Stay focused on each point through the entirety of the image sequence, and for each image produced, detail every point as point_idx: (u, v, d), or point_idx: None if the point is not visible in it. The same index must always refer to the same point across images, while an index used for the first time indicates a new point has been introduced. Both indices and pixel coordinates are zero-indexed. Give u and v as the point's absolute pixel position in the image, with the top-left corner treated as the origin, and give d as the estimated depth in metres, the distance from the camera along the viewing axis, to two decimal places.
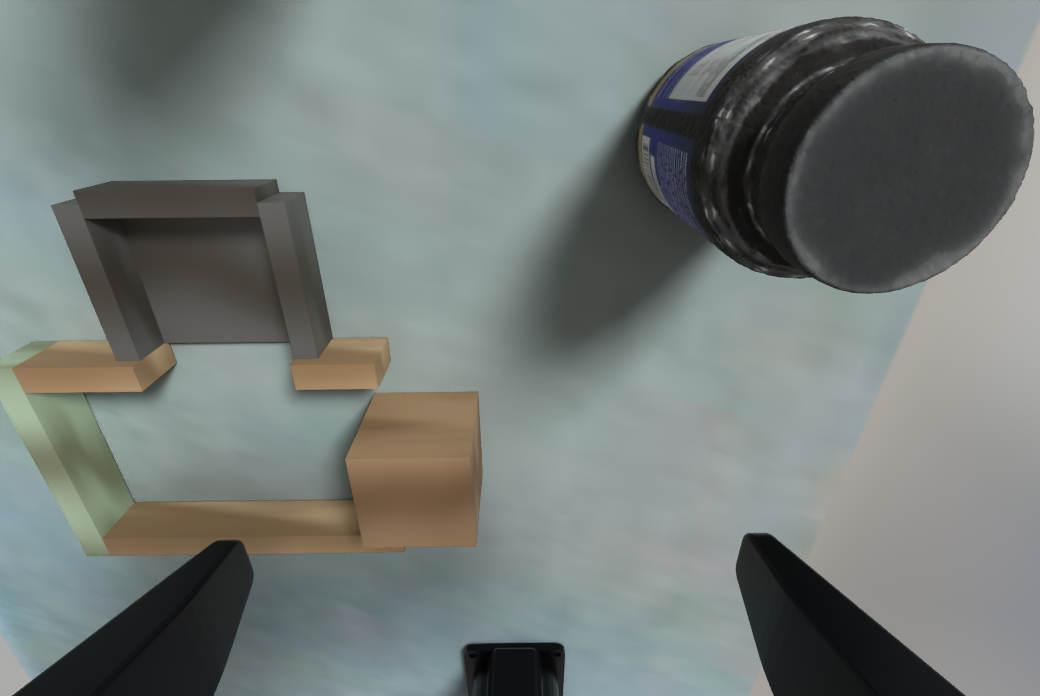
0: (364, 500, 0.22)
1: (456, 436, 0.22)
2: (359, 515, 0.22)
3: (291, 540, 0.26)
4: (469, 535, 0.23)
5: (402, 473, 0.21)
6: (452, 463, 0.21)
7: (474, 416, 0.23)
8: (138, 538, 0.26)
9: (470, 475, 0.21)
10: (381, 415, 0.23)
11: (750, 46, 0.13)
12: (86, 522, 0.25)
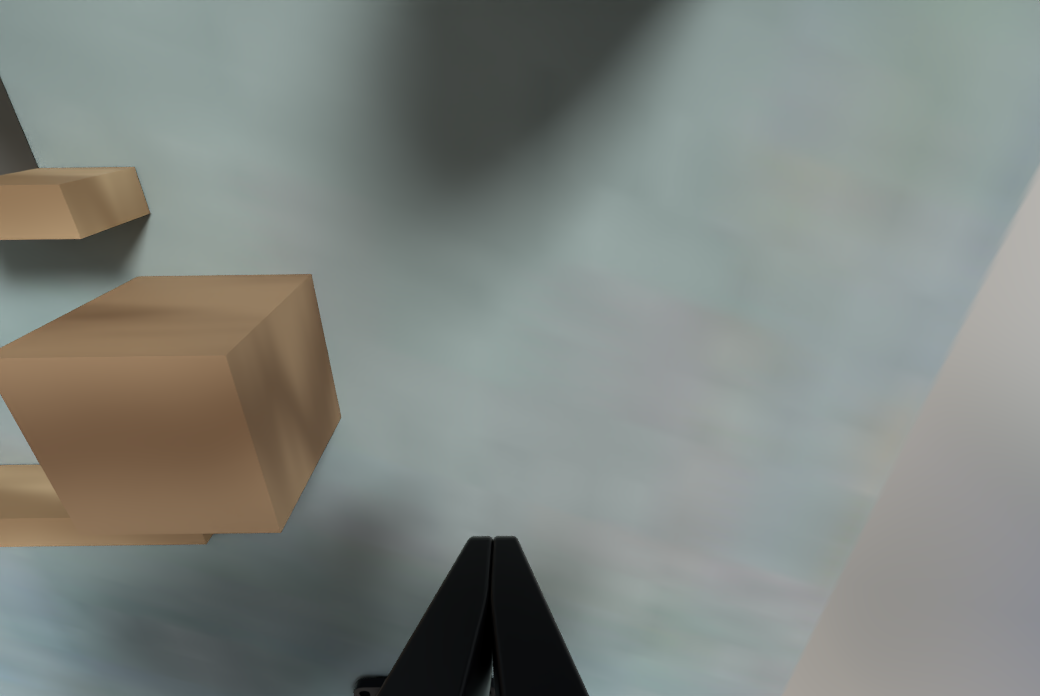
0: (49, 445, 0.12)
1: (226, 326, 0.12)
2: (50, 474, 0.12)
3: (17, 525, 0.16)
4: (264, 512, 0.13)
5: (103, 388, 0.11)
6: (195, 368, 0.11)
7: (282, 302, 0.13)
8: None
9: (237, 393, 0.11)
10: (118, 301, 0.13)
11: None
12: None
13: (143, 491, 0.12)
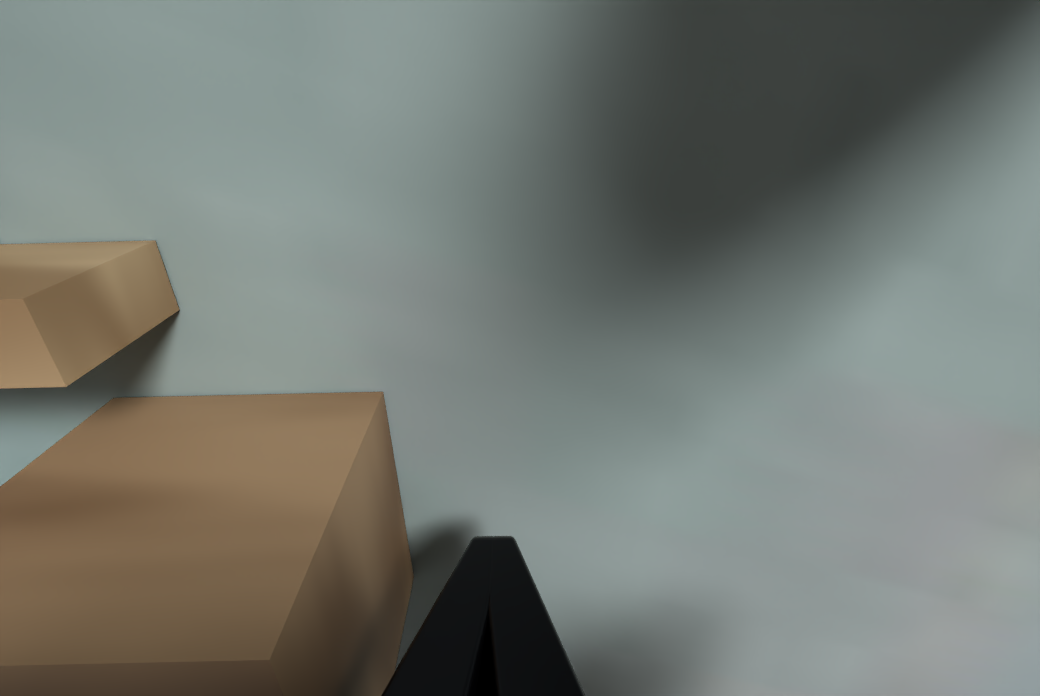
0: None
1: (262, 549, 0.06)
2: None
3: None
4: None
5: None
6: (206, 678, 0.05)
7: (349, 468, 0.08)
8: None
9: None
10: (72, 466, 0.08)
11: None
12: None
13: None
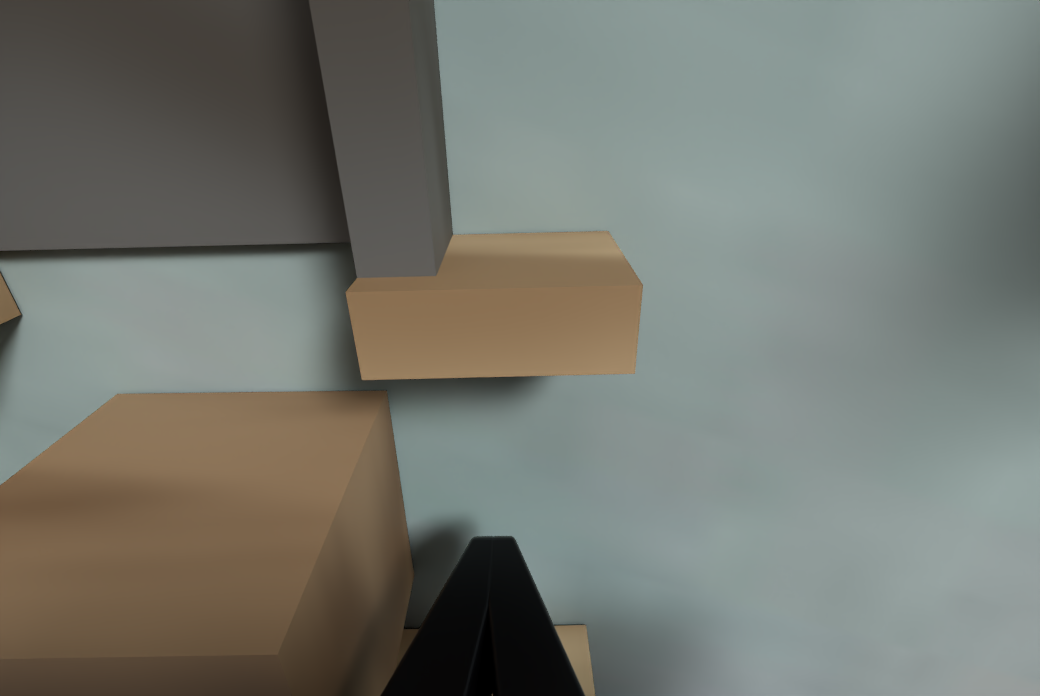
0: None
1: (267, 546, 0.06)
2: None
3: None
4: None
5: None
6: (213, 674, 0.05)
7: (354, 466, 0.08)
8: None
9: None
10: (78, 461, 0.08)
11: None
12: None
13: None
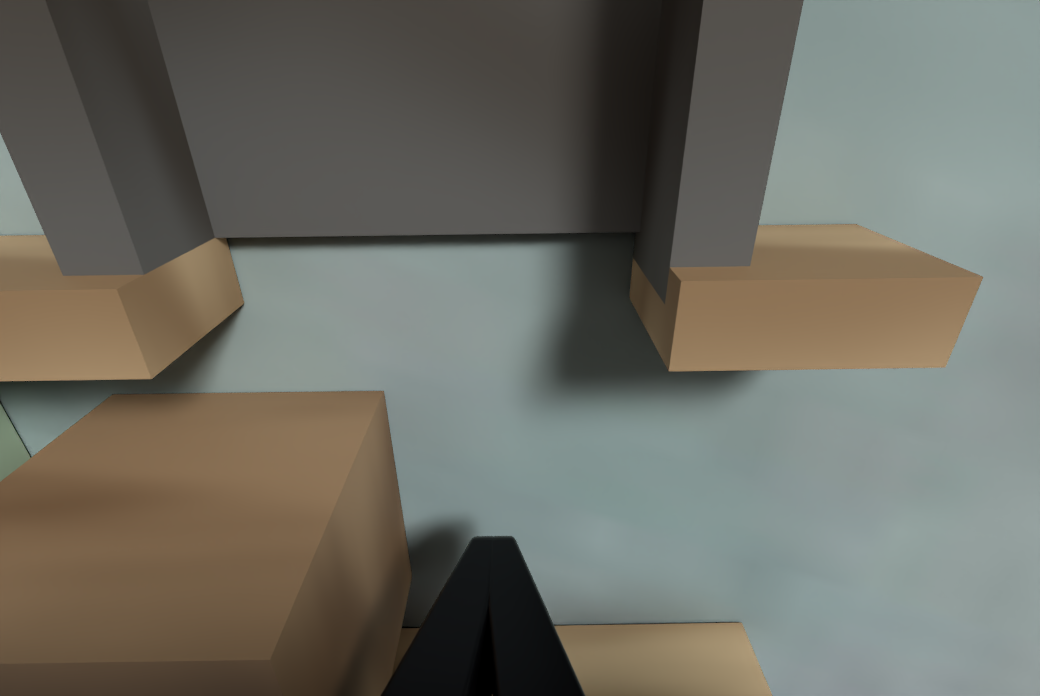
0: None
1: (261, 548, 0.06)
2: None
3: None
4: None
5: None
6: (206, 678, 0.05)
7: (350, 467, 0.08)
8: None
9: None
10: (71, 464, 0.08)
11: None
12: None
13: None
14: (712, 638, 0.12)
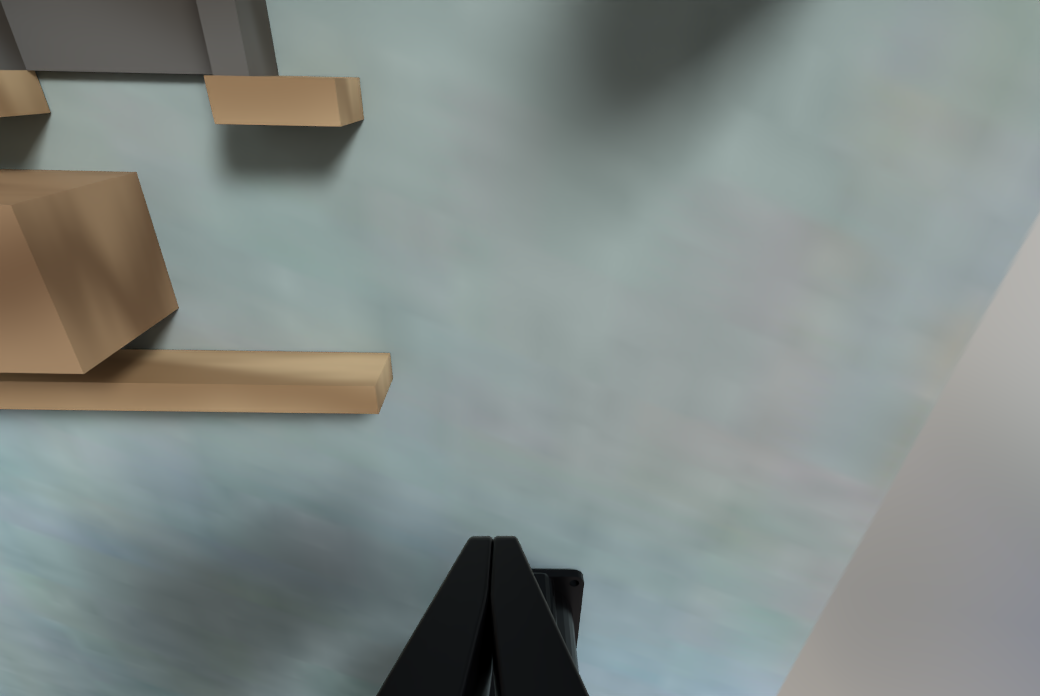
0: None
1: (29, 193, 0.14)
2: None
3: (220, 391, 0.19)
4: (66, 354, 0.15)
5: None
6: None
7: (92, 184, 0.16)
8: (2, 382, 0.18)
9: (26, 241, 0.14)
10: None
11: None
12: None
13: None
14: (366, 357, 0.20)
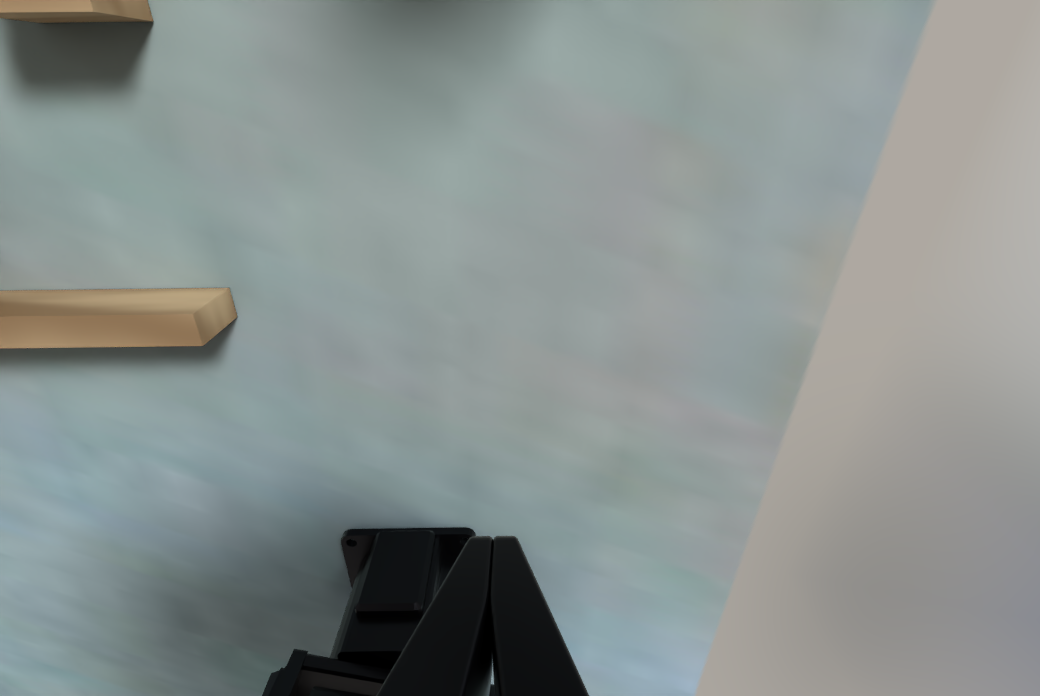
0: None
1: None
2: None
3: (31, 324, 0.18)
4: None
5: None
6: None
7: None
8: None
9: None
10: None
11: None
12: None
13: None
14: (201, 292, 0.19)
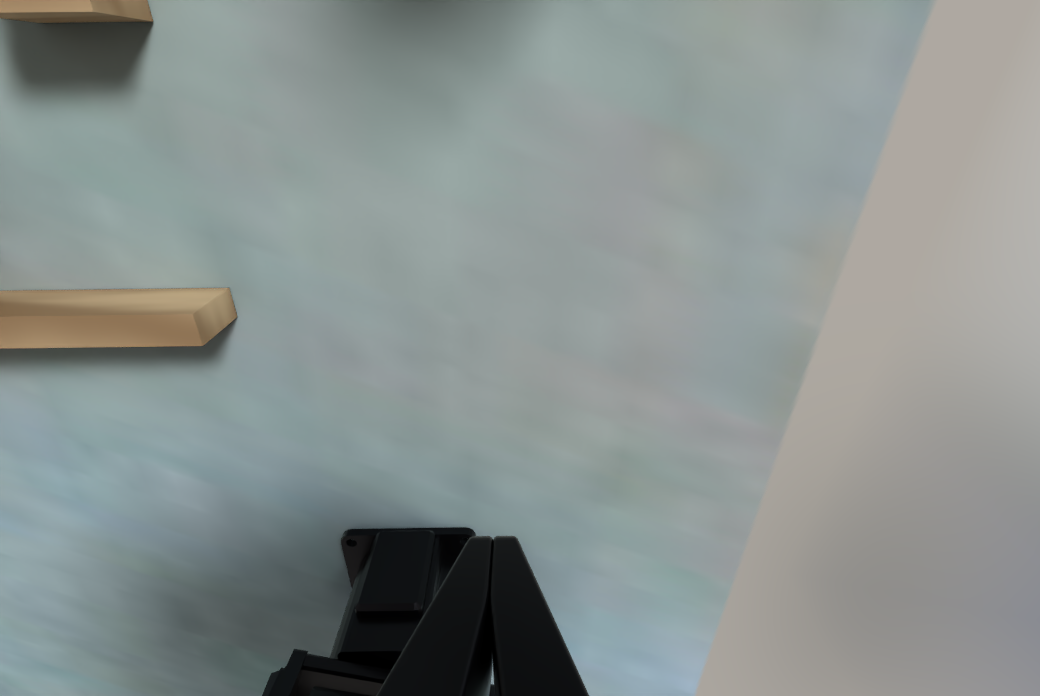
0: None
1: None
2: None
3: (31, 324, 0.18)
4: None
5: None
6: None
7: None
8: None
9: None
10: None
11: None
12: None
13: None
14: (201, 292, 0.19)
